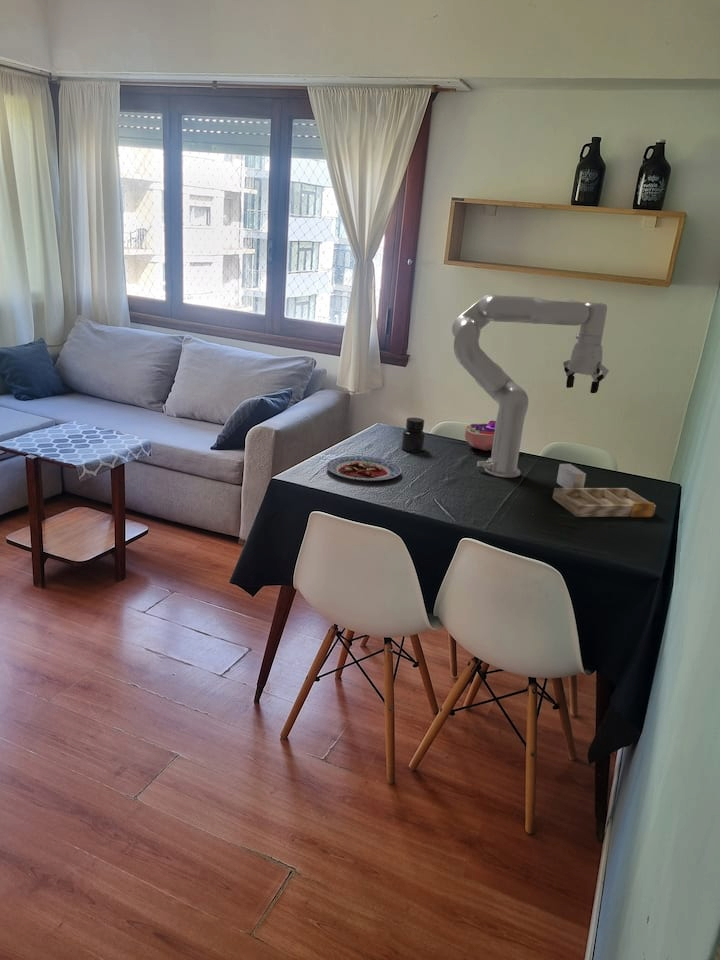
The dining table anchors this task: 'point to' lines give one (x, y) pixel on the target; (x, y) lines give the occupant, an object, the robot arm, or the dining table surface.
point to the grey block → (570, 476)
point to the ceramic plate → (363, 468)
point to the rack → (603, 502)
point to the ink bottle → (414, 435)
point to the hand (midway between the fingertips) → (581, 390)
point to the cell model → (481, 435)
